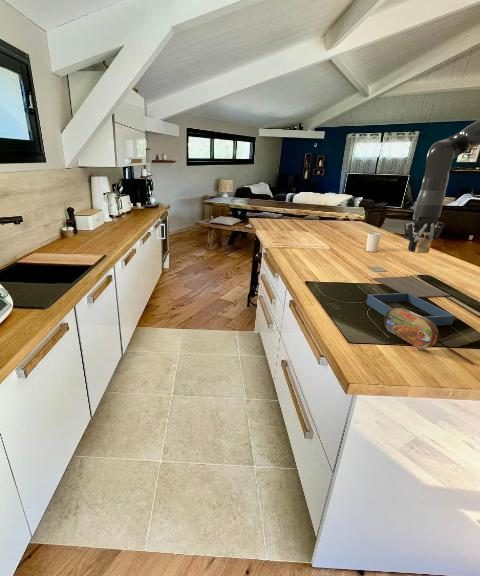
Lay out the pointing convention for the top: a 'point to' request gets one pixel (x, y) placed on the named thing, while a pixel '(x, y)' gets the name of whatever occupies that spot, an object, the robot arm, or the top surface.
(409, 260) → the top surface
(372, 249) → the drinking glass
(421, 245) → the block
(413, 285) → the board
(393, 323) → the tin
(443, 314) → the blue rectangular frame
